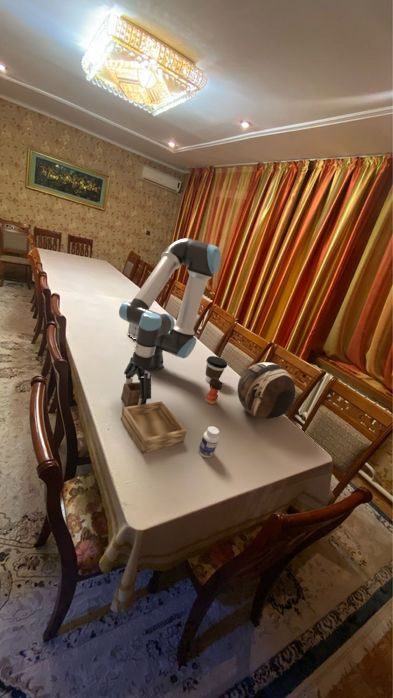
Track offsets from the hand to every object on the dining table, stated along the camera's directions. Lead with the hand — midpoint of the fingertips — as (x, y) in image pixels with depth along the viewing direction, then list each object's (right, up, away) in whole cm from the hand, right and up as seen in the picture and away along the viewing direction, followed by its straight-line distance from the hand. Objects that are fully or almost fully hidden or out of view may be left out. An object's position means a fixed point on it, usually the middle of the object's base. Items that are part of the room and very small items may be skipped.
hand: (133, 401), depth 116 cm
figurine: (+32, -3, +16) cm, 36 cm away
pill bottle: (+29, -15, -16) cm, 36 cm away
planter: (-10, +29, +66) cm, 72 cm away
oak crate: (+9, -8, -13) cm, 18 cm away
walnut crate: (0, 0, 0) cm, 0 cm away
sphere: (+53, -9, +17) cm, 57 cm away
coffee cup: (+33, +4, +36) cm, 49 cm away
